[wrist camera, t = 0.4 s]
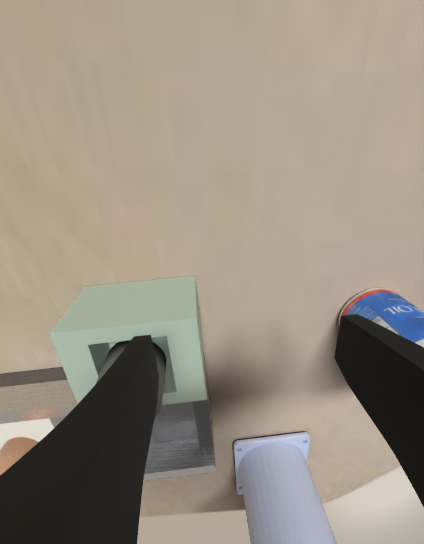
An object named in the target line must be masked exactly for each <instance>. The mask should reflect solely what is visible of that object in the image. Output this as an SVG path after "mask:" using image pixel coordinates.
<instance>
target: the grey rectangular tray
mask: <svg viewBox="0 0 424 544" xmlns="http://www.w3.org/2000/svg"><path fill="white" fill-rule="evenodd" d="M203 354H204V351H203ZM204 369H205V385H206V400H201V401H192V402H184V403H175V404H167V405H162V406H161V410H160V412H159V413H158V415H157V416H156V417H155V418H154V424H153V429H152V435H151V440H150V445H149V451H148V456H147V461H146V467H145V473H144V479H143V481H149V480H157V479H165V478H173V477H181V476H189V475H196V474H204V473H212V472H216V465H215V452H214V440H213V428H212V419H211V410H210V402H209V393H208V384H207V375H206V367H205V358H204ZM77 405H78V403H77V401H76V398H75V396H74V393H73V391H72V389H71V386H70V384H69V381H68V379H67V377H66V374H65V372H64V369H63V367H59V368H50V369H41V370H32V371H23V372H14V373H5V374H0V424H5V423H13V422H22V421H30V420H39V419H47V418H56V417H64V416H65V417H66V416H67V415H68V414H69V413H70V412H71V411H72V410H73V409H74V408H75V407H76V406H77Z"/></svg>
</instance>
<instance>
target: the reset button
mask: <svg viewBox="0 0 424 544" xmlns="http://www.w3.org/2000/svg"><path fill="white" fill-rule="evenodd" d="M130 341H131V340H127V341H120V342H118V343H116V344H115V345H114V346H113V347H112V348H111V349H110V351H109V353H108V355H107V357H106V360H105V362H104V365H103V367H102V370H101V372H100V375H99V377H98V380H97V382H98V381H99V380H100V379H101V377H102V376H103V375H104V374H105V372H106V371H107V370H108V369H109V368H110V366H111V365H112V364H113V363H114V361H115V360H116V359H117V358H118V356H119V355H120V354H121V352H122V351H123V350H124V348H125V347H126V346H127V345H128V343H129V342H130ZM152 343H153V348H154V353H155V358H156V363H157V368H158V373H159V386H158V400H157V407H156V413H155V417H156V416H157V415H158V413H159V412H160V410H161V406H162V398H163V390H164V381H165V372H166V362H167V360H166V356H165V353H164V352H163V350H162V349H161V348H160V347H159V346H158V345H157V344H155V343H154V342H152ZM97 382H96V383H97Z"/></svg>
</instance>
